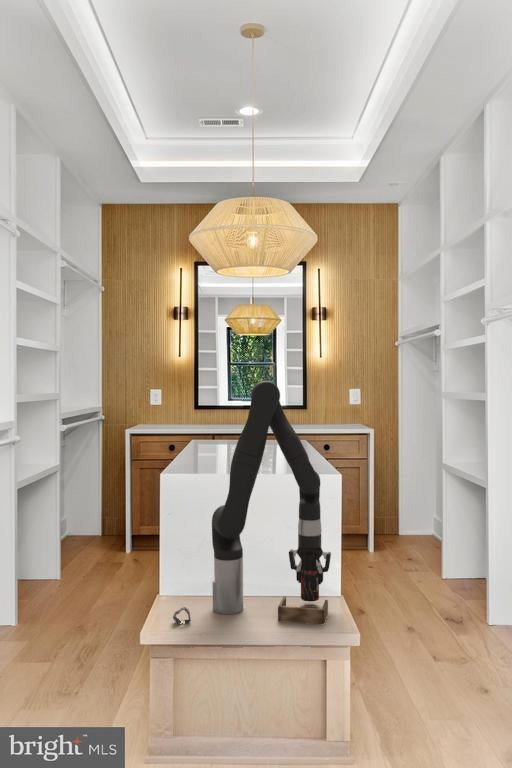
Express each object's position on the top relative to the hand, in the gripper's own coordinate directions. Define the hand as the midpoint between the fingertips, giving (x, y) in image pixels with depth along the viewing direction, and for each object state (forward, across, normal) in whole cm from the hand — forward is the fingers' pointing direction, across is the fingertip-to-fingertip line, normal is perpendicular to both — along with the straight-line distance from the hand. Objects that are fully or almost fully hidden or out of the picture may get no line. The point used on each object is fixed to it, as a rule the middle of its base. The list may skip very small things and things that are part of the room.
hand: (309, 582), depth 215 cm
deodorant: (+5, 0, 0) cm, 5 cm away
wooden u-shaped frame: (+7, 0, -10) cm, 13 cm away
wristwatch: (+8, -36, -23) cm, 43 cm away
